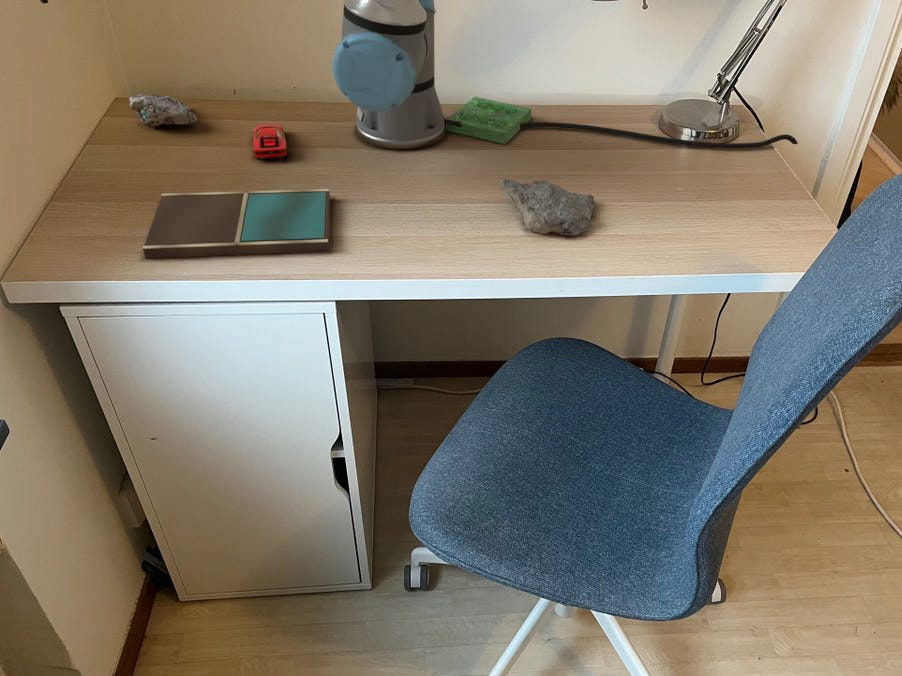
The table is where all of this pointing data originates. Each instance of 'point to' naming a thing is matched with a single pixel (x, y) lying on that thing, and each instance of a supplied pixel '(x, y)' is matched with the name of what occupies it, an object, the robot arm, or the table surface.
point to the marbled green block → (489, 120)
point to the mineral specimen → (161, 110)
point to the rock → (550, 207)
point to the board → (239, 223)
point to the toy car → (269, 141)
